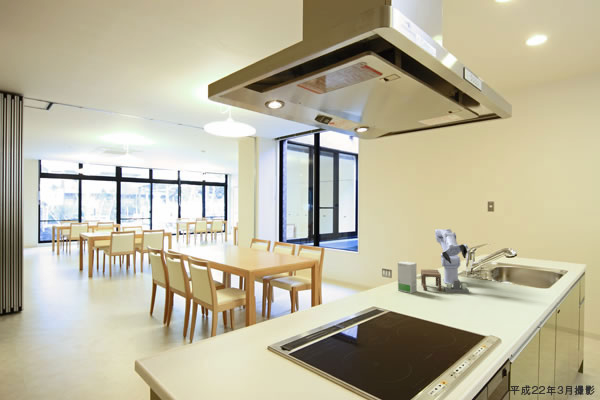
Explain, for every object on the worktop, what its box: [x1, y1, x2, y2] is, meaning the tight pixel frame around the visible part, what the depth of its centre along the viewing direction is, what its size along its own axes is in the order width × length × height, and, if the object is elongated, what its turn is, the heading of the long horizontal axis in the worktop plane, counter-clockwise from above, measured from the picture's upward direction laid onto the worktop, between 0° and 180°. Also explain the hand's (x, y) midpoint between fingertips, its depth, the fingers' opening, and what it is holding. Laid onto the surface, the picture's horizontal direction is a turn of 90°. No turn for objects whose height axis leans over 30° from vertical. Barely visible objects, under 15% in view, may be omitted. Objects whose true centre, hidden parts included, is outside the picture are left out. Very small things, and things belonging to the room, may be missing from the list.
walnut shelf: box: [420, 269, 442, 292], centre depth 179 cm, size 12×9×9 cm
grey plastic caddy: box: [444, 278, 470, 294], centre depth 170 cm, size 5×11×6 cm, turn 73°
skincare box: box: [397, 260, 418, 294], centre depth 175 cm, size 8×7×16 cm
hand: (457, 259), depth 169 cm, fingers open, 7 cm apart
